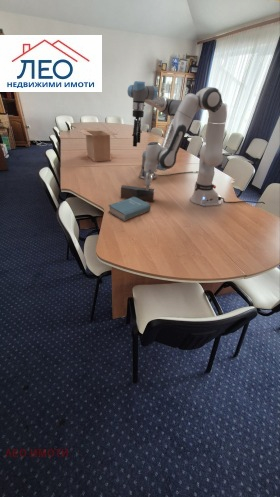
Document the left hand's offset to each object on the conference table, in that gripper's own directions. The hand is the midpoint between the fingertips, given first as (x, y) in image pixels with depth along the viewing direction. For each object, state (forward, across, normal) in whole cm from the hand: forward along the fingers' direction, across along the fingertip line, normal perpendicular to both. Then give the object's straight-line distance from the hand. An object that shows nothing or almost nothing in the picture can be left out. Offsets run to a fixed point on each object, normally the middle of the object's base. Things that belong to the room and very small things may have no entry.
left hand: (136, 144), depth 160 cm
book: (+34, -40, -5) cm, 53 cm away
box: (+34, +78, +56) cm, 102 cm away
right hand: (+24, -18, -13) cm, 33 cm away
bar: (+34, -18, -6) cm, 39 cm away
